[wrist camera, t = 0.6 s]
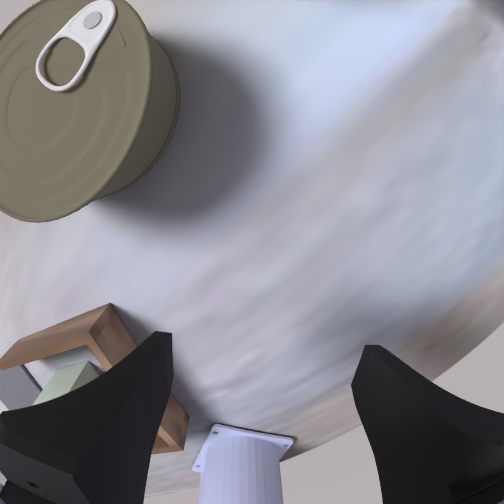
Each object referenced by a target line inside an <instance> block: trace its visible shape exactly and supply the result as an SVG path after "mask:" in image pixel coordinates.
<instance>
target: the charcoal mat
mask: <svg viewBox="0 0 504 504" xmlns="http://www.w3.org/2000/svg"><path fill="white" fill-rule="evenodd" d="M41 392H42V389H41V388H40V387H39V386H38V384H37V383H36V382H35V380H34V379H33V378H32V377H31V375H30V374H29V373H28V371H27V370H26V368H25V367H24V366H23V364H22V365H19V366H15V367H12V368H8V369H5V370H1V369H0V400H1V401H2V402H3V403H4V404H5V406H6V407H7V408H8V409H9V410H15V409H19V408H24V407H29V406H32V405H33V403H34V402H35V400H36V399H37V397H38V396H39V394H40V393H41Z"/></svg>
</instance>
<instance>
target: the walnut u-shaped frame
mask: <svg viewBox="0 0 504 504" xmlns="http://www.w3.org/2000/svg"><path fill="white" fill-rule="evenodd" d="M86 344H87V346H88V347H89V349H90V350H91V352H92V353H93V354H94V356H95V357H96V359H97V360H98V361H99V363H100V364H101V366H102V367H103V368H104V370H105V371H108V370H109V369H110V368H112V367H113V366H114V365H116V364H117V363H118V362H120V361H121V360H122V359H123V358H125V357H126V356H127V355H128V354H130V353H131V352H132V351H133V350H134V349H135V348H137V347H138V346H137V345H136V343H135V342H134V340H133V339H132V337H131V336H130V334H129V333H128V331H127V330H126V328H125V326H124V325H123V323H122V322H121V320H120V318H119V317H118V315H117V313H116V312H115V310H114V308H113V307H112V305H111V303H109V304H106V305H104V306H101V307H99V308H96V309H94V310H91V311H89V312H86V313H84V314H81V315H79V316H76V317H74V318H71V319H69V320H66V321H64V322H61V323H59V324H56V325H54V326H52V327H49V328H47V329H44V330H42V331H39V332H37V333H34V334H32V335H29V336H27V337H24V338H22V339H19V340H18V341H17V342H16V343H15V344H14V345H13V346H12V347H11V348H10V349H9V350H8V351H7V352H6V353H5V354H4V355H3V357H2V358H1V359H0V369H1V370H5V369H8V368H12V367H15V366H19V365H22V364H25V363H29V362H32V361H35V360H38V359H42V358H45V357H48V356H51V355H55V354H58V353H61V352H64V351H67V350H70V349H74V348H77V347H80V346H83V345H86ZM188 422H189V416H188V414H187V413H186V412H185V411H184V409H183V408H182V407H181V406H180V404H179V403H178V402H177V401H176V399H175V398H174V397H173V395H172V394H171V393H170V396H169V400H168V403H167V406H166V409H165V412H164V415H163V418H162V421H161V424H160V427H159V430H158V433H157V436H156V439H155V442H154V446H153V449H152V453H151V454H159V453H168V452H176V451H183V450H184V445H185V439H186V433H187V427H188Z"/></svg>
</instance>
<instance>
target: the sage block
mask: <svg viewBox="0 0 504 504" xmlns="http://www.w3.org/2000/svg"><path fill="white" fill-rule="evenodd" d="M99 376H100V375H99V374H98V373H97V371H96V370H95V369H94V367H93V366H92V365H91V363H90V362H89V361H85V362H81V363H78V364H74V365H70V366H67V367H63V368H59V369H57V370H56V371H55V373H54V374H53V376H52V377H51V379H50V380H49V381H48V383H47V384H46V386H45V387H44V389H43V390H42V392H41V393H40V394H39V396H38V397H37V399H36V400H35V402H34V403H33V405H36V404H39V403H43V402H46V401H49V400H51V399H54V398H57V397H59V396H62V395H64V394H66V393H68V392H71V391H73V390H75V389H77V388H79V387H81V386H83V385H85V384H87V383H89V382H90V381H92V380H94V379H96V378H97V377H99ZM33 405H32V406H33Z"/></svg>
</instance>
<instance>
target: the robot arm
mask: <svg viewBox="0 0 504 504" xmlns="http://www.w3.org/2000/svg"><path fill="white" fill-rule="evenodd" d="M172 381H173V355H172V333H167V332H159V331H155V332H154V333H152V334H151V335H150V336H149V337H148V338H147V339H146V340H144V341H143V342H142V343H141V344H140V345H139V346H138V347H137V348H135V349H134V350H133V351H132V352H131V353H130V354H128V355H127V356H126V357H125V358H123V359H122V360H121V361H120V362H118V363H117V364H116V365H114V366H113V367H112V368H110V369H109V370H108V371H106V372H105V373H103V374H102V375H100V376H99V377H97V378H96V379H94V380H92V381H90V382H89V383H87V384H85V385H83V386H81V387H79V388H77V389H75V390H73V391H71V392H68V393H66V394H64V395H62V396H59V397H57V398H54V399H51V400H49V401H46V402H43V403H39V404H36V405H33V406H29V407H24V408H19V409H15V410H10V411H3V412H2V413H1V414H0V471H1V473H2V474H3V475H4V476H5V477H6V478H7V481H6V483H5V485H4V486H3V485H2V484H1V483H0V504H143V501H144V494H145V487H146V481H147V474H148V469H149V463H150V458H151V453H152V449H153V446H154V442H155V439H156V436H157V433H158V430H159V427H160V424H161V421H162V418H163V415H164V412H165V409H166V406H167V403H168V400H169V396H170V391H171V386H172ZM351 387H352V392H353V397H354V401H355V405H356V408H357V411H358V414H359V416H360V419H361V421H362V424H363V426H364V429H365V432H366V434H367V437H368V440H369V442H370V445H371V448H372V450H373V453H374V457H375V461H376V465H377V470H378V474H379V480H380V486H381V492H382V499H383V504H504V413H500V412H496V411H493V410H489V409H486V408H483V407H480V406H478V405H475V404H473V403H470V402H468V401H465V400H463V399H461V398H459V397H457V396H455V395H453V394H451V393H449V392H448V391H446V390H444V389H442V388H440V387H439V386H437V385H436V384H434V383H433V382H431V381H429V380H428V379H426V378H425V377H423V376H422V375H421V374H419V373H418V372H416V371H415V370H414V369H412V368H411V367H409V366H408V365H407V364H405V363H404V362H403V361H401V360H400V359H399V358H397V357H396V356H395V355H393V354H392V353H391V352H389V351H388V350H386V349H385V348H383V347H382V346H380V345H365V347H364V350H363V353H362V356H361V359H360V362H359V364H358V367H357V370H356V373H355V375H354V378H353V381H352V383H351ZM293 442H294V441H293V438H291V437H284V436H277V435H271V434H265V433H259V432H254V431H249V430H244V429H239V428H234V427H229V426H225V425H220V424H214V425H213V426H212V428H211V430H210V432H209V434H208V436H207V438H206V440H205V442H204V444H203V446H202V449H201V451H200V453H199V455H198V457H197V459H196V461H195V463H194V465H193V467H192V470H193V471H195V472H198V473H201V477H200V486H199V496H198V504H283V496H282V486H281V476H280V466H279V460H280V459H281V458H282V456H283V455H284V454H285V453H286V452H287V450H288V449H289V448H290V447H291V445H292V444H293Z"/></svg>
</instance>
